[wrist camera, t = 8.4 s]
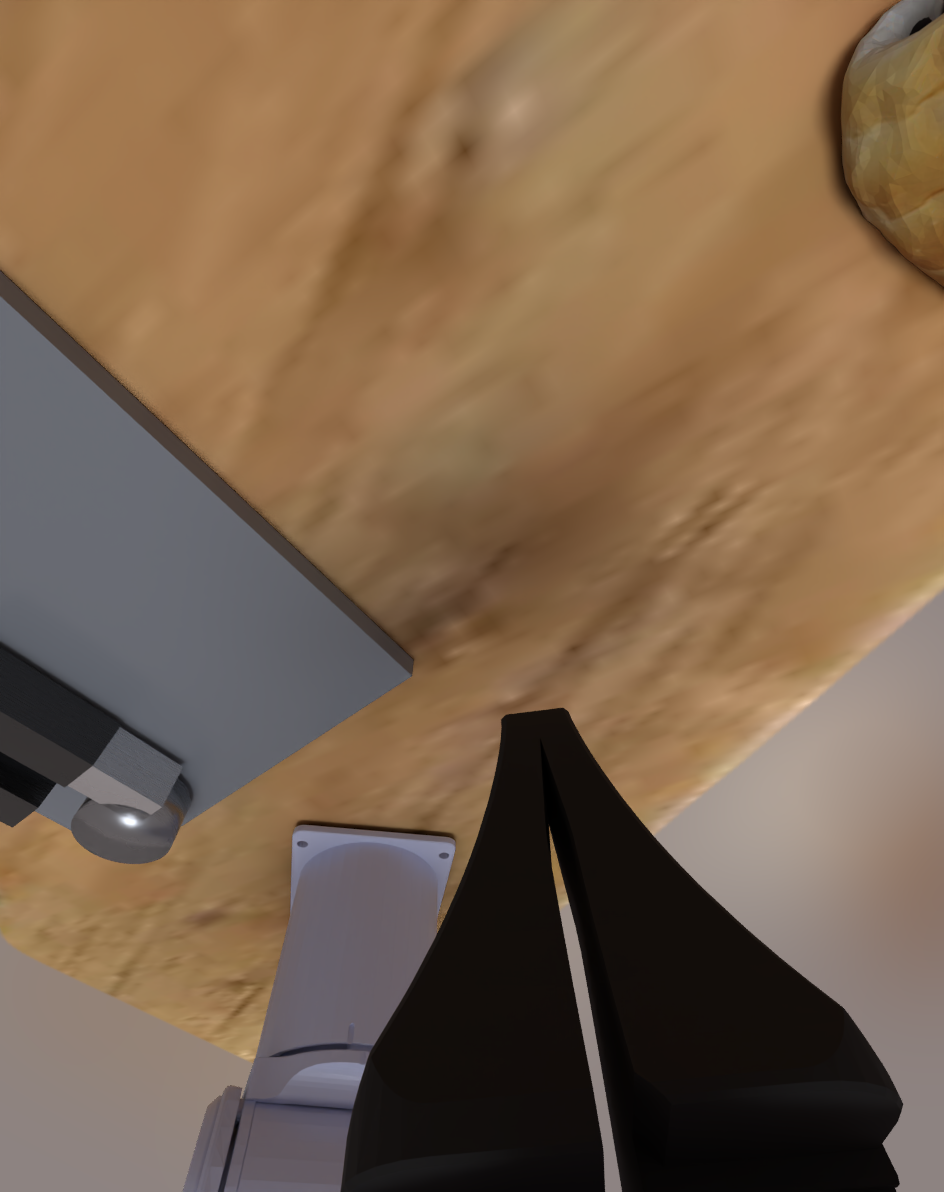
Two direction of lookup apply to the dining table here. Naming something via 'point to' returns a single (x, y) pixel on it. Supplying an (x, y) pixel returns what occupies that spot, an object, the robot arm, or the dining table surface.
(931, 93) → the pastry
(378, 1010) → the robot arm
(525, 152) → the dining table surface
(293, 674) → the slate board
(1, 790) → the arm
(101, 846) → the tongs moving arm
